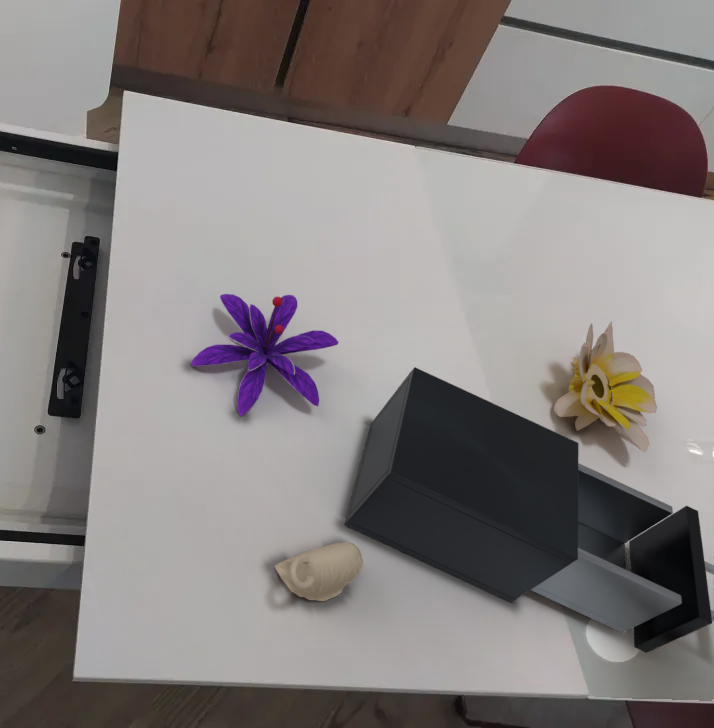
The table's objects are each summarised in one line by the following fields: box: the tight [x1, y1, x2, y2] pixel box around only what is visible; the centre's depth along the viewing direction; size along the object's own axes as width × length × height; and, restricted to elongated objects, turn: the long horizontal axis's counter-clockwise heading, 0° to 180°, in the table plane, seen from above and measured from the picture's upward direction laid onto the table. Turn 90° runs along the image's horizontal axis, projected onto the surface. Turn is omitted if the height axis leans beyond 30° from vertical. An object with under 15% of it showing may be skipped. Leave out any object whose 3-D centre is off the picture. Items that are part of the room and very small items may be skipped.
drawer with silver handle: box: [530, 462, 714, 654], centre depth 67 cm, size 23×11×8 cm, turn 71°
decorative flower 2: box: [553, 320, 658, 453], centre depth 82 cm, size 15×11×10 cm
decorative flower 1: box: [190, 293, 339, 417], centre depth 72 cm, size 14×15×7 cm
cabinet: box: [344, 366, 579, 603], centre depth 67 cm, size 17×13×10 cm
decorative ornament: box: [273, 541, 364, 602], centre depth 60 cm, size 4×8×5 cm, turn 110°
